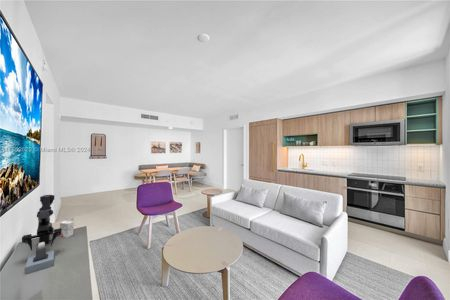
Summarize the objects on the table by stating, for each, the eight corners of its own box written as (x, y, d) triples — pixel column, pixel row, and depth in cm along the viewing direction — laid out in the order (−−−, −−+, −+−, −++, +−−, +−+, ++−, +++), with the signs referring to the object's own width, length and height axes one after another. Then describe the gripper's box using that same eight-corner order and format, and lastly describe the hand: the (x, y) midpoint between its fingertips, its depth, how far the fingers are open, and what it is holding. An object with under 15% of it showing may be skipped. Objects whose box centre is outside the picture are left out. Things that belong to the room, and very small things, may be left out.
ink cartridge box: (58, 236, 146) (59, 219, 146) (64, 233, 151) (65, 217, 151) (67, 237, 145) (68, 219, 145) (73, 234, 150) (74, 217, 150)
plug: (35, 262, 111) (36, 242, 112) (45, 259, 115) (46, 240, 115) (35, 265, 108) (36, 245, 108) (45, 262, 111) (46, 243, 111)
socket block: (28, 262, 112) (28, 256, 112) (53, 255, 121) (54, 249, 121) (24, 274, 102) (24, 267, 102) (53, 265, 110) (53, 259, 110)
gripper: (22, 223, 113) (18, 247, 105) (62, 216, 126) (61, 238, 118) (24, 231, 119) (20, 254, 111) (61, 224, 131) (60, 244, 123)
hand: (41, 247), depth 115 cm, fingers open, 9 cm apart
